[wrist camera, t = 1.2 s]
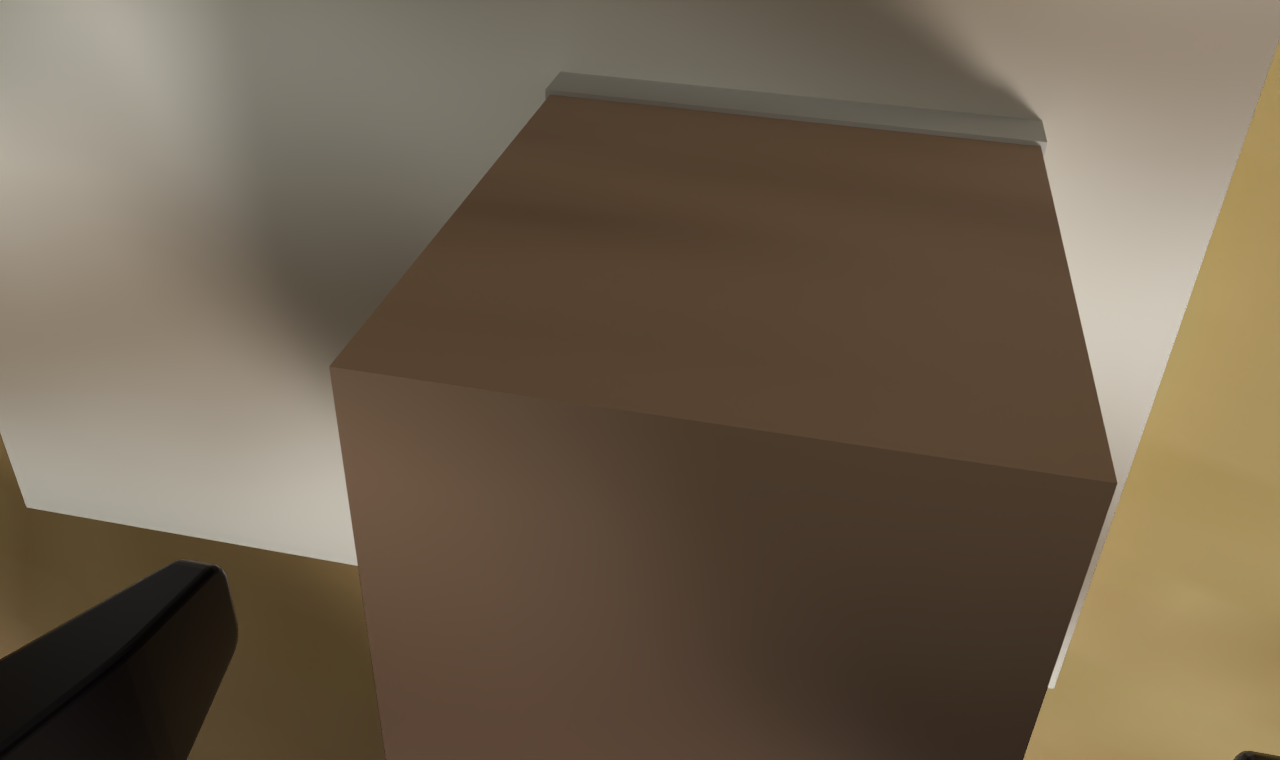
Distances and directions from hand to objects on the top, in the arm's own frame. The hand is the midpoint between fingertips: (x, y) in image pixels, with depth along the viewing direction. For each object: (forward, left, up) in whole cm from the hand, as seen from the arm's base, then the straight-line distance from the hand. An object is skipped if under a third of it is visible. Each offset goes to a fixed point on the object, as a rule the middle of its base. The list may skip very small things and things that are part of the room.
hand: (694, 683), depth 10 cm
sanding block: (0, 0, -5) cm, 5 cm away
